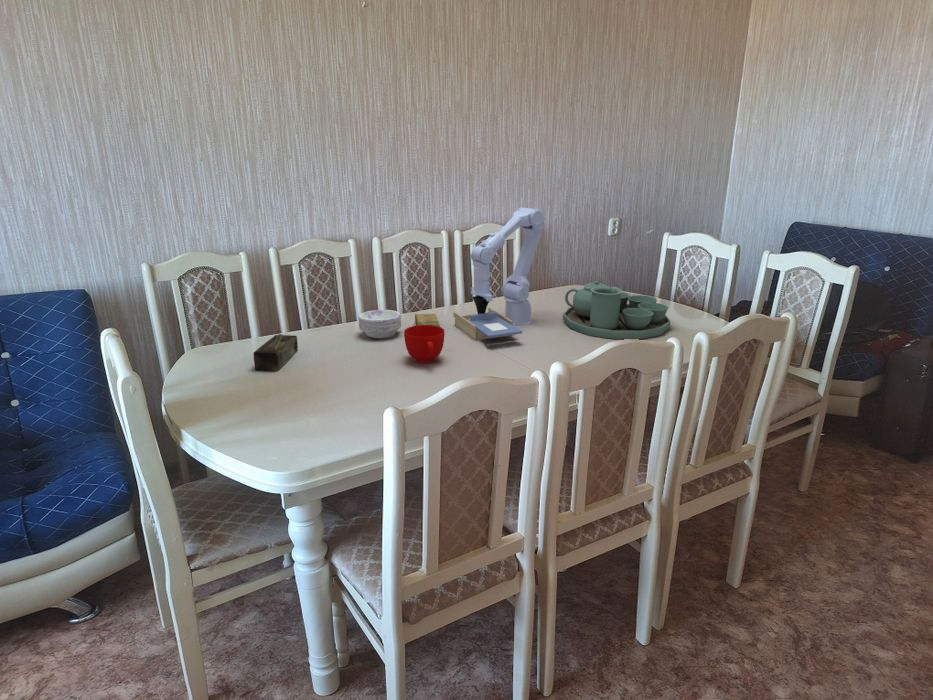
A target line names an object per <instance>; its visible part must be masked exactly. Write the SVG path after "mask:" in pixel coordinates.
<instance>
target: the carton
mask: <svg viewBox="0 0 933 700" xmlns="http://www.w3.org/2000/svg"><path fill="white" fill-rule="evenodd" d="M414 321H415V323H414V324H416V325H435V326H439V327H441V326H440V322H439V320H438V317H437V314H436V313H417V314H414ZM416 325H415V326H416Z"/></svg>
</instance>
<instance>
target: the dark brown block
mask: <svg viewBox="0 0 933 700" xmlns="http://www.w3.org/2000/svg"><path fill="white" fill-rule="evenodd" d="M298 348H299V346H298V336H297V335H290V334H288V335H287V334H282V333H278V334H275V335H274V336H273V337H271V338H270V339H268V340H267V341H266V342H264V343H263V344H262V345H261V346H259V347H258V348H257V349H256V350H255V351H254V352H253V362H254V370H255V371H266V372H267V371H268V372H278V371H279V370H281V368H283V367H284V365H286V364H287V362H288V361H290V359H292V358H293V357H294V356H295V355H296V354H297V353H298ZM294 354H295V355H294ZM293 355H294V356H293Z"/></svg>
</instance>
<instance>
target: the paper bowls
mask: <svg viewBox="0 0 933 700" xmlns="http://www.w3.org/2000/svg"><path fill="white" fill-rule="evenodd" d="M358 327H359V328H358V329H359V330H360V331H362V332H364V333H365V335H366V336H367V337H369V338H370V339H371V338H372V339H378V340H379V339H387V338H391V337H394V335H395V334H396V333H397V330H399V329H401V327H402V315H401V313H400V312H399V311H396V310H392V309H374V310H373V309H372V310H368V311H364V312H361V313H360V314H359V315H358Z"/></svg>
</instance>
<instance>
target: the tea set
mask: <svg viewBox="0 0 933 700" xmlns="http://www.w3.org/2000/svg"><path fill="white" fill-rule="evenodd" d="M572 292H574V295H573V298H572V303H571V302H570V301H569V295H570V293H572ZM564 301H565V303H566V305H568V308H567V309H566V310H565V312H563V314H562V320H563V322H564V324H565V325H567V327H569V328H570V330H573V331H576V332H578V333H581V334H583V335H587V336H591V337H598V338H602V339H603V338H605V339H609V340H610V339H613V340H642V339H648V338H652V337H659V336H661V335H662V334H664V333H665V332H666V331H668V329H669V328H670V327H671V320H670V319H669V318H668V315H666V314H667V312H668V309H669V306H668V305H666V304H664V303H659V302H658V299H657V298H656V297H654V296H651V295H645V294H643V295H640V294H637V295H635V294H633V295H630V294H629V293H627V292H624V290H622V289H621V288H618V287H617V286H608V285H607V284H606V283H602V282H599V280H596V281H594V282H588V283H586V284H584V285H583V288H580V289H577V288H571V289H568V291H567V292H566V293H565V295H564Z"/></svg>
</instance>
